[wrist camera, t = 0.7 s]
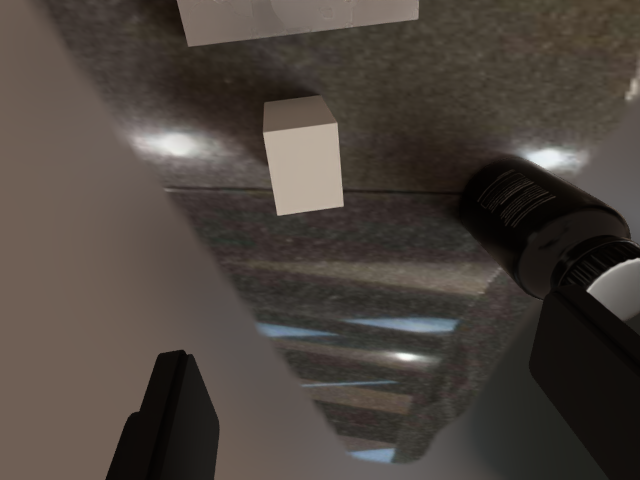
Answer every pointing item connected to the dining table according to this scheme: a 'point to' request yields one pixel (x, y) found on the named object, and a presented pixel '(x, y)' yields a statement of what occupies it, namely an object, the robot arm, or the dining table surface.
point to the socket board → (283, 17)
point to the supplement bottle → (552, 234)
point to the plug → (302, 154)
